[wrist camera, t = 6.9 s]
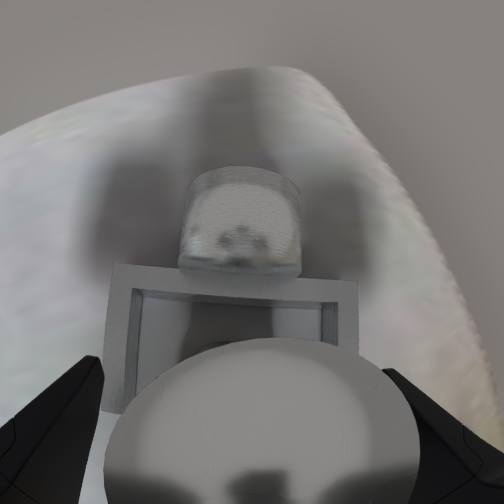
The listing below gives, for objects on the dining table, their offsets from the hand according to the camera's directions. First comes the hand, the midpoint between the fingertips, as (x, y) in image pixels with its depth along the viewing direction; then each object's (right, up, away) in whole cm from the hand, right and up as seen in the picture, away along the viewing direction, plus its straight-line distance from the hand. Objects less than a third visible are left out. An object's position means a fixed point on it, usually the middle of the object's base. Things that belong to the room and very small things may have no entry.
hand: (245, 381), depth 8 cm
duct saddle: (-1, 0, +9) cm, 9 cm away
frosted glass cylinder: (-1, -4, +7) cm, 8 cm away
